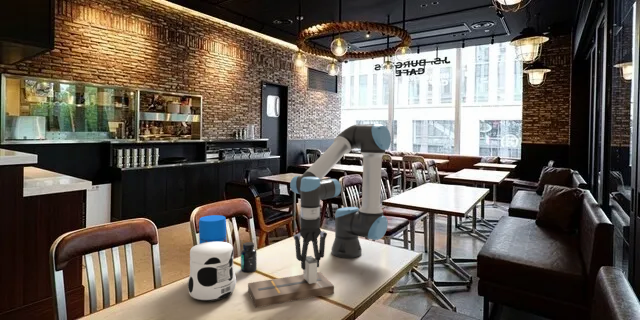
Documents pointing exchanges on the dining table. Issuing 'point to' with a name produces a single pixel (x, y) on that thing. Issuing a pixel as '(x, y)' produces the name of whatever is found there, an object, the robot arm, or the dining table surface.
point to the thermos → (212, 229)
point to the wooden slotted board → (288, 289)
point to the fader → (311, 270)
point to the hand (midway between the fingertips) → (310, 276)
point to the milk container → (211, 271)
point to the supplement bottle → (248, 258)
